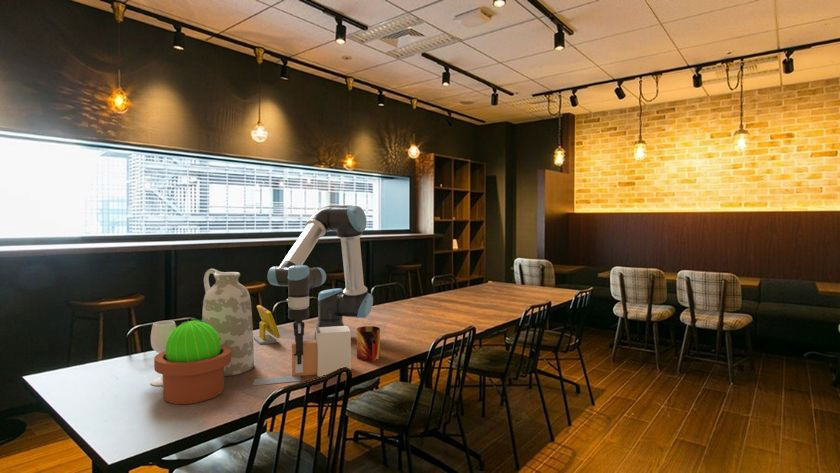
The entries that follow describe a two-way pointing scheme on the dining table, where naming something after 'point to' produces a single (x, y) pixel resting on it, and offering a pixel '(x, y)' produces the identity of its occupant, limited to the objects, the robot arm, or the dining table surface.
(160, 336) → the wineglass
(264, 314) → the toy computer monitor
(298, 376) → the pad
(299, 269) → the robot arm
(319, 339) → the white tall block
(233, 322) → the vase
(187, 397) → the potted cactus
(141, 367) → the dining table surface
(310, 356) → the peach cardboard box
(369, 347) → the mug
